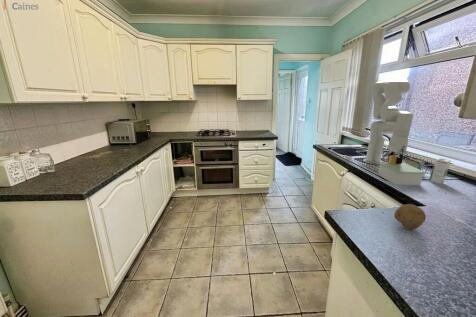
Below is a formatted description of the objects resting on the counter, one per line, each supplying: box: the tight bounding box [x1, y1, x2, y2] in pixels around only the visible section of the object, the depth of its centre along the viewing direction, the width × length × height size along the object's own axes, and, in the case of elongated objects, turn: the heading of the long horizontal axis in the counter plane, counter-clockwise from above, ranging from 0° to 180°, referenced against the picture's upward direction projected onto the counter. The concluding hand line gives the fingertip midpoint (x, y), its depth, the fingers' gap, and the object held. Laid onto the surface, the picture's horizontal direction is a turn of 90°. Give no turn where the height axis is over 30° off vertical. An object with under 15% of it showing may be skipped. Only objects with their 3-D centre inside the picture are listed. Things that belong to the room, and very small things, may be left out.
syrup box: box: [428, 157, 452, 185], centre depth 122 cm, size 6×6×14 cm
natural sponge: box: [394, 203, 427, 230], centre depth 81 cm, size 9×9×10 cm
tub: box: [378, 164, 424, 186], centre depth 126 cm, size 16×14×8 cm
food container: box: [405, 156, 426, 171], centre depth 137 cm, size 12×6×10 cm, turn 179°
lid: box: [378, 154, 426, 175], centre depth 124 cm, size 17×15×7 cm
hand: (394, 161), depth 130 cm, fingers open, 6 cm apart
